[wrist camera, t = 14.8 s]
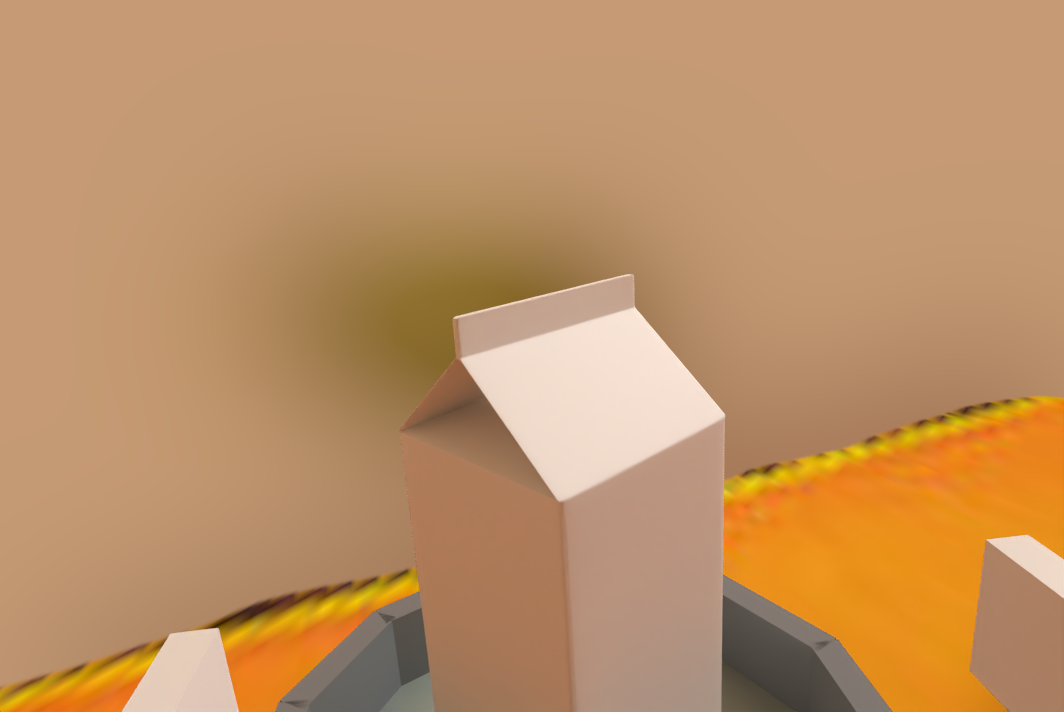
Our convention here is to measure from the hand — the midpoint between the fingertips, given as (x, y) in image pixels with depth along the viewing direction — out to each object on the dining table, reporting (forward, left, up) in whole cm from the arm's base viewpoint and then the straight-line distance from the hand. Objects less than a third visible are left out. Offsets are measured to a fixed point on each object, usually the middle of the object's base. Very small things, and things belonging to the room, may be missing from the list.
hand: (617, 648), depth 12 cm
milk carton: (-5, -8, -15) cm, 18 cm away
